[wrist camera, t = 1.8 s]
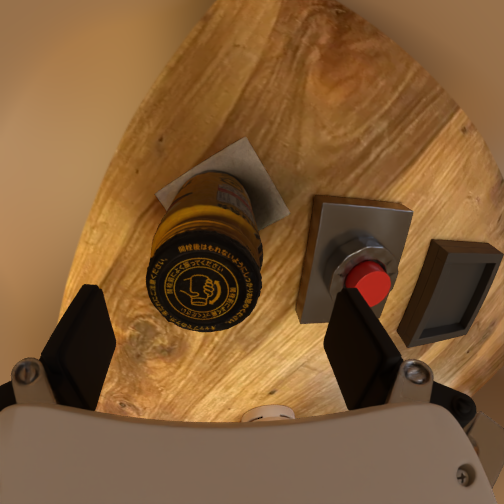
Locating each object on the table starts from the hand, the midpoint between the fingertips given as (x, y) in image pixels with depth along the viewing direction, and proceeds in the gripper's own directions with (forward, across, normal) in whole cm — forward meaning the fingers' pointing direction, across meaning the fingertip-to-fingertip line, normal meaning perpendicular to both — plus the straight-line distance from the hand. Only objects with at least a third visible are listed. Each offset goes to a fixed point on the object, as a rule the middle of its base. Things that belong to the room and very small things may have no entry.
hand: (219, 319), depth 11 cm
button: (+10, -12, +4) cm, 16 cm away
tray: (+14, -28, +8) cm, 32 cm away
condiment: (+14, 0, -1) cm, 14 cm away
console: (+14, -12, +4) cm, 19 cm away
